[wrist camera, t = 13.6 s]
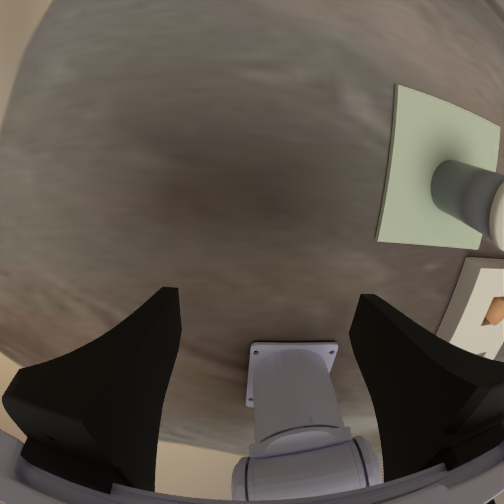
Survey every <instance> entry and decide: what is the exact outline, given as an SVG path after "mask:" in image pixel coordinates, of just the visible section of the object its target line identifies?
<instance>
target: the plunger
mask: <svg viewBox="0 0 504 504" xmlns="http://www.w3.org/2000/svg"><path fill="white" fill-rule="evenodd" d="M485 318H486V319H487V320H488V321H489V322H490V323H491V324H492V325H493V326H495V325H497V324H499V323H500V322H501V321H502V320H503V318H504V301H503V300H502V299H501V298H500V297H493V300H492V302H491V304H490V307H489V309H488V311H487V313H486V316H485Z"/></svg>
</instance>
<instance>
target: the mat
mask: <svg viewBox="0 0 504 504" xmlns="http://www.w3.org/2000/svg"><path fill="white" fill-rule="evenodd" d="M499 139H500V127H499V126H497V125H495V124H493V123H491V122H490V121H488V120H486V119H484V118H482V117H480V116H477V115H475V114H473V113H471V112H469V111H467V110H465V109H462V108H460V107H458V106H455V105H453V104H451V103H448V102H446V101H443V100H441V99H438V98H436V97H433V96H430V95H428V94H425V93H422V92H419V91H416V90H413V89H410V88H407V87H404V86H401V85H395V97H394V113H393V125H392V135H391V144H390V153H389V161H388V168H387V175H386V182H385V188H384V194H383V200H382V206H381V211H380V217H379V222H378V227H377V232H376V237H375V239H376V240H377V241H380V242H393V243H406V244H418V245H431V246H442V247H454V248H465V249H476V250H478V248H479V245H480V241H481V238H482V234H481V233H480V232H478V231H476V230H475V229H473V228H471V227H470V226H468V225H466V224H464V223H463V222H461V221H459V220H457V219H456V218H454V217H452V216H450V215H448V214H447V213H445V212H443V211H441V210H440V209H438V208H437V207H436V205H435V204H434V202H433V200H432V196H431V180H432V176H433V174H434V172H435V170H436V168H437V167H438V166H439V165H440V164H441V163H442V162H444V161H446V160H455V161H459V162H462V163H466V164H469V165H473V166H476V167H480V168H483V169H486V170H489V171H492V172H496V166H497V158H498V149H499Z"/></svg>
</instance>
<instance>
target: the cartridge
mask: <svg viewBox="0 0 504 504" xmlns="http://www.w3.org/2000/svg"><path fill="white" fill-rule="evenodd" d="M431 196H432V200H433V202H434V204H435V205H436V207H437V208H438V209H440V210H441V211H443V212H445V213H447V214H448V215H450V216H452V217H454V218H456V219H457V220H459V221H461V222H463V223H464V224H466V225H468V226H470V227H471V228H473V229H475V230H476V231H478V232H480V233H481V234H483V235H485V236H486V237H488V238H489V239H491V240H492V241H493V243H494V244H495V246H497V247H498V248H499V249H501V250H502V251H504V175H502V174H499V173H496V172H492V171H489V170H486V169H483V168H480V167H476V166H473V165H469V164H466V163H462V162H459V161H455V160H446V161H444V162H442V163H441V164H440V165H439V166H438V167H437V168H436V170H435V172H434V174H433V176H432V180H431Z"/></svg>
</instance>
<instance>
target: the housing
mask: <svg viewBox="0 0 504 504" xmlns="http://www.w3.org/2000/svg"><path fill="white" fill-rule="evenodd" d="M493 297H500V298H501V299H502V300H503V301H504V259H493V258H478V257H466V258H465V261H464V265H463V268H462V271H461V274H460V276H459V279H458V282H457V285H456V288H455V290H454V293H453V295H452V298H451V301H450V303H449V306H448V308H447V310H446V313H445V315H444V317H443V320H442V322H441V324H440V326H439V329H438V331H437V333H436V336H437V337H439V338H441V339H443V340H445V341H447V342H449V343H450V344H453V345H455V346H457V347H459V348H461V349H464V350H466V351H468V352H471V353H473V354H476V355H479V356H482V357H485V358H488V359H491V360H493V359H494V358H495V356H496V354H497V352H498V351H499V349H500V347H501V345H502V344H503V342H504V318H503V320H502V321H501V322H500V323H499V324H497V325H495V326H493V325H492V324H491V323H490V322H489V321H488V320H487V319H486V318H485V316H486V313H487V311H488V309H489V307H490V304H491V302H492V300H493Z"/></svg>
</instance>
